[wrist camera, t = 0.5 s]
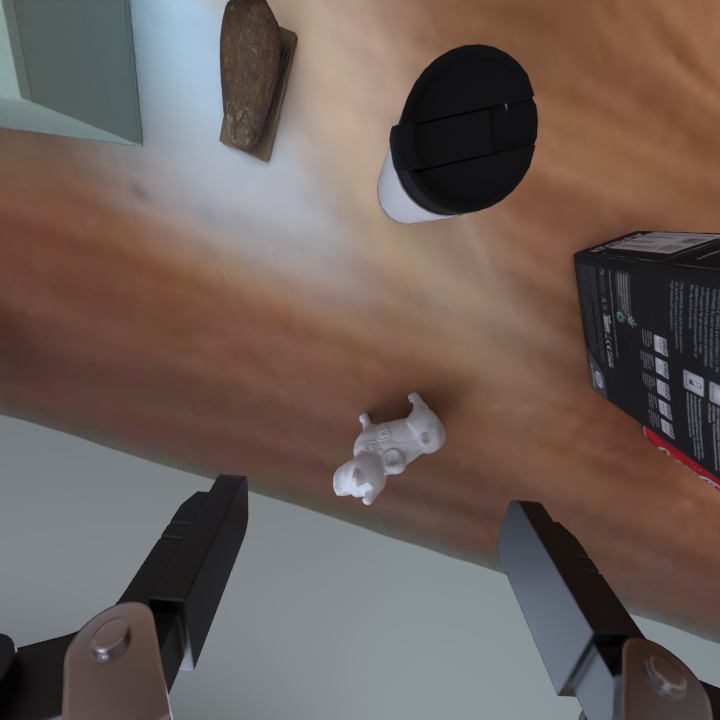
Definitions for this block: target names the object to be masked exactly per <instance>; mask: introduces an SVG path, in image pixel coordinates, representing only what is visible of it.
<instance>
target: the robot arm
mask: <svg viewBox="0 0 720 720" xmlns="http://www.w3.org/2000/svg"><path fill="white" fill-rule="evenodd" d="M247 523H248V481H247V477H246V476H236V475H224V474H220V475H219V476H218V478H217V479H216V481H215V483H214V484H213V486H212V488H211V490H210V491H209V492H199V491H198V492H196V493H195V494H194V495H193V496H191V497H190V498H189V499H188V500H186V501H185V502H184V503H183V504H182V505H181V506H180V507H179V509H178V511H177V512H176V514H175V515H174V517H173V518H172V520H171V522H170V525H168V526H167V527H166V529H165V531H164V532H163V534H162V537H161V539H159V540H158V541H157V543H156V545H155V546H154V547H153V549H152V551H151V552H150V554H149V555H148V557H147V558H146V560H145V561H144V563H143V564H142V566H141V568H140V569H139V571H138V572H137V574H136V575H135V577H134V578H133V580H132V581H131V583H130V584H129V586H128V588H127V589H126V591H125V592H124V594H123V595H122V597H121V598H120V599H119V601H118V602H117V603H116V604H115V605H114V606H112V607H110V608H107V609H105V610H104V611H102V612H100V613H99V614H97V615H96V616H94V617H93V618H92V619H91V620H90V621H88V622H87V623H86V624H85V625H84V626H83V627H82V628H81V629H80V630H79V631H77V632H75V633H72V634H69V635H65V636H62V637H58V638H54V639H50V640H46V641H42V642H39V643H35V644H31V645H27V646H23V647H19V648H16V647H15V644H14V643H13V641H12V639H11V638H10V637H9V636H7V635H4V634H0V720H173V719H172V714H171V709H170V703H169V697H168V695H169V693H170V690H171V688H172V685H173V683H174V680H175V678H176V676H177V673H178V671H179V669H184V670H194V669H195V666H196V663H197V661H198V658H199V656H200V653H201V650H202V648H203V645H204V642H205V640H206V637H207V634H208V632H209V629H210V626H211V624H212V621H213V618H214V616H215V613H216V610H217V608H218V605H219V603H220V600H221V597H222V595H223V592H224V589H225V586H226V584H227V581H228V579H229V576H230V573H231V570H232V568H233V565H234V563H235V560H236V557H237V554H238V552H239V549H240V547H241V544H242V541H243V539H244V536H245V532H246V528H247ZM497 546H498V553H499V557H500V560H501V562H502V565H503V567H504V570H505V572H506V574H507V577H508V579H509V581H510V584H511V586H512V589H513V591H514V593H515V596H516V598H517V600H518V603H519V605H520V608H521V610H522V612H523V615H524V617H525V620H526V622H527V624H528V627H529V629H530V631H531V634H532V636H533V638H534V641H535V643H536V646H537V648H538V650H539V652H540V655H541V658H542V660H543V662H544V665H545V667H546V669H547V672H548V674H549V677H550V679H551V681H552V684H553V686H554V689H555V691H556V693H557V695H558V696H572V697H577V699H578V701H579V703H580V705H581V707H582V709H583V710H582V712H581V713H580V716H579V720H720V688H718V687H715V686H712V685H710V684H708V683H705V682H703V681H700V680H698V679H697V677H696V676H695V675H694V674H693V672H692V671H691V670H690V669H689V668H688V667H687V666H686V665H685V664H684V663H683V662H682V661H681V660H680V659H679V658H678V657H676V656H675V655H674V654H672V653H671V652H670V651H669V650H667V649H665V648H664V647H662V646H661V645H659V644H657V643H655V642H653V641H650V640H647V639H646V638H645V637H644V635H643V634H642V633H641V631H640V630H639V628H638V627H637V625H636V624H635V622H634V621H633V620H632V618H631V617H630V615H629V614H628V612H627V611H626V609H625V608H624V607H623V605H622V604H621V602H620V601H619V599H618V598H617V596H616V595H615V594H614V592H613V591H612V589H611V588H610V586H609V585H608V583H607V582H606V581H605V579H604V578H603V576H602V575H601V574H599V572H598V571H599V570H598V569H597V568H596V566H595V565H594V563H593V562H592V560H591V559H589V558H588V555H587V553H586V552H585V550H584V549H583V547H582V546H581V544H580V543H579V542H578V540H577V539H576V537H574V536H573V535H572V534H571V533H570V532H569V531H568V530H567V529H566V528H564V527H563V526H562V525H561V524H560V523H559V522H553V520H552V519H551V517H550V516H549V514H548V513H547V511H546V510H545V508H544V507H543V505H542V504H541V503H539V502H532V501H520V500H512V501H511V502H510V504H509V506H508V509H507V512H506V515H505V518H504V520H503V523H502V526H501V529H500V532H499V535H498V541H497Z"/></svg>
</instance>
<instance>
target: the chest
mask: <svg viewBox="0 0 720 720" xmlns="http://www.w3.org/2000/svg"><path fill="white" fill-rule="evenodd" d="M13 2H14V8H15V13H16V18H17V24H18V29H19V34H20V40H21V45H22V50H23V56H24V61H25V66H26V72H27V77H28V82H29V88H30V93H31V99H32V102H31V103H30V102H23V101H16V100H9V99H2V98H0V127H1V128H9V129H16V130H23V131H31V132H38V133H46V134H53V135H60V136H68V137H75V138H83V139H90V140H97V141H105V142H112V143H120V144H127V145H134V146H143V144H142V133H141V123H140V112H139V101H138V91H137V80H136V70H135V59H134V48H133V38H132V27H131V16H130V6H129V0H13Z"/></svg>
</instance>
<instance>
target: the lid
mask: <svg viewBox="0 0 720 720" xmlns="http://www.w3.org/2000/svg"><path fill="white" fill-rule="evenodd" d="M0 98H2V99H9V100H16V101H23V102H30V103H31V102H32V99H31V93H30V88H29V82H28V77H27V72H26V66H25V61H24V56H23V50H22V45H21V40H20V34H19V29H18V24H17V18H16V13H15V8H14V2H13V0H0Z"/></svg>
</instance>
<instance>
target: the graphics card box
mask: <svg viewBox="0 0 720 720" xmlns="http://www.w3.org/2000/svg"><path fill="white" fill-rule="evenodd" d="M574 259H575V260H574V261H575V269H576V274H577V282H578V289H579V298H580V304H581V311H582V318H583V326H584V333H585V340H586V347H587V354H588V363H589V369H590V376H591V383H592V387H593V389H594V390H595V391H596V392H598V393H599V394H600V395H602V396H603V397H604V398H606V399H607V400H609V401H610V402H612V403H613V404H614V405H616V406H617V407H619V408H620V409H621V410H623V411H624V412H625V413H627V414H628V415H630V416H631V417H633V418H634V419H635V420H637V421H638V422H640V423H641V424H642V425H644V426H645V427H646V428H648V429H650V430H651V431H652V432H654V433H655V434H656V435H658V436H659V437H661V438H662V439H664V440H665V441H666V442H668V443H669V444H670V445H672V446H673V447H674V448H676V449H677V450H679V451H680V452H681V453H683V454H684V455H685V456H687V457H688V458H690V459H691V460H693V461H694V462H695V463H697V464H698V465H699V466H701V467H702V468H703V469H705V470H706V471H708V472H709V473H711V474H712V475H713V476H715V477H716V478H718V479H719V480H720V233H690V232H653V231H636V232H633V233H630V234H627V235H624V236H622V237H619V238H616V239H614V240H611V241H608V242H605V243H603V244H600V245H597V246H594V247H592V248H588V249H585V250H583V251H580V252H577V253H575V254H574Z"/></svg>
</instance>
